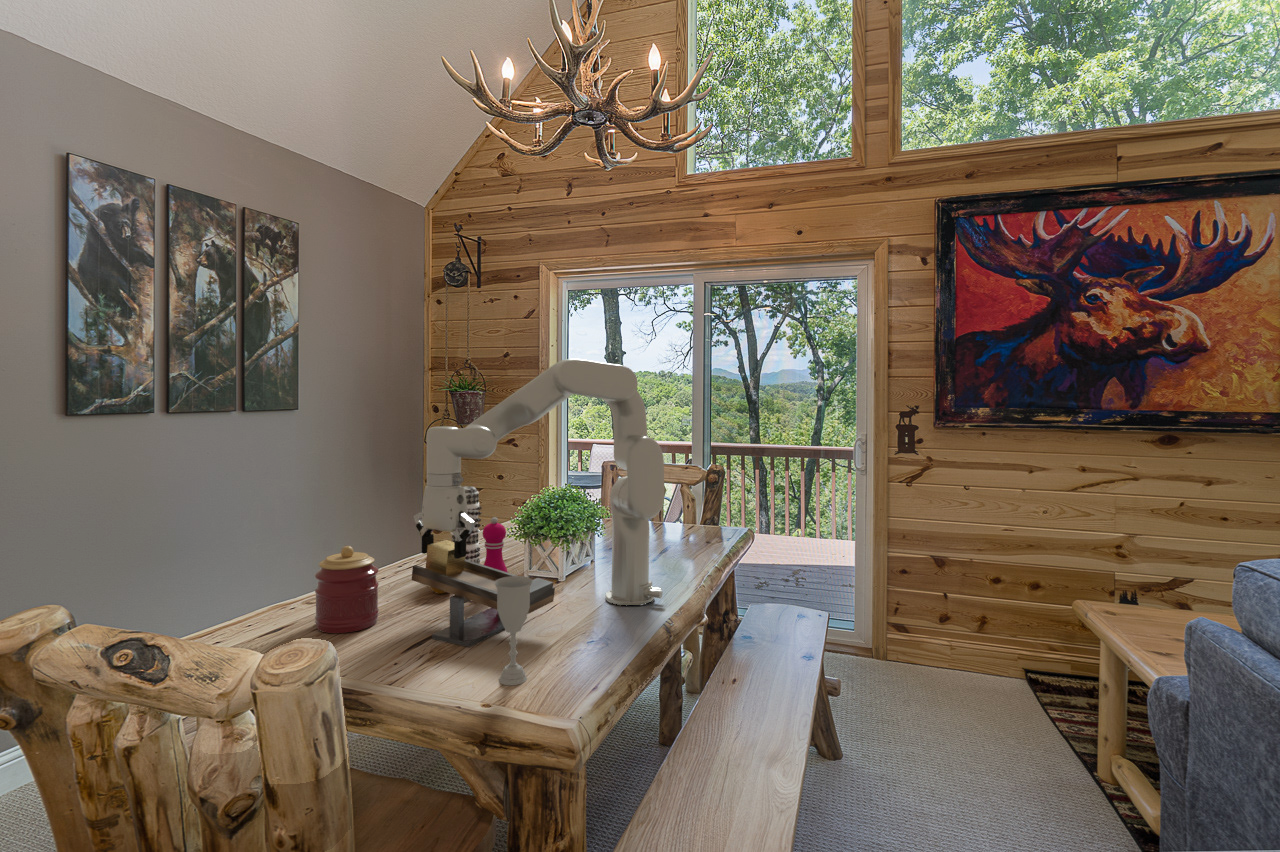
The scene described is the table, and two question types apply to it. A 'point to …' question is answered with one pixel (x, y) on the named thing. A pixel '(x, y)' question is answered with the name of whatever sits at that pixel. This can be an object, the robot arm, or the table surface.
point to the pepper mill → (494, 545)
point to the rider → (443, 558)
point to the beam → (481, 584)
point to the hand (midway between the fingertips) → (443, 554)
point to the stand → (468, 625)
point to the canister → (346, 592)
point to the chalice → (513, 620)
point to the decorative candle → (473, 513)
